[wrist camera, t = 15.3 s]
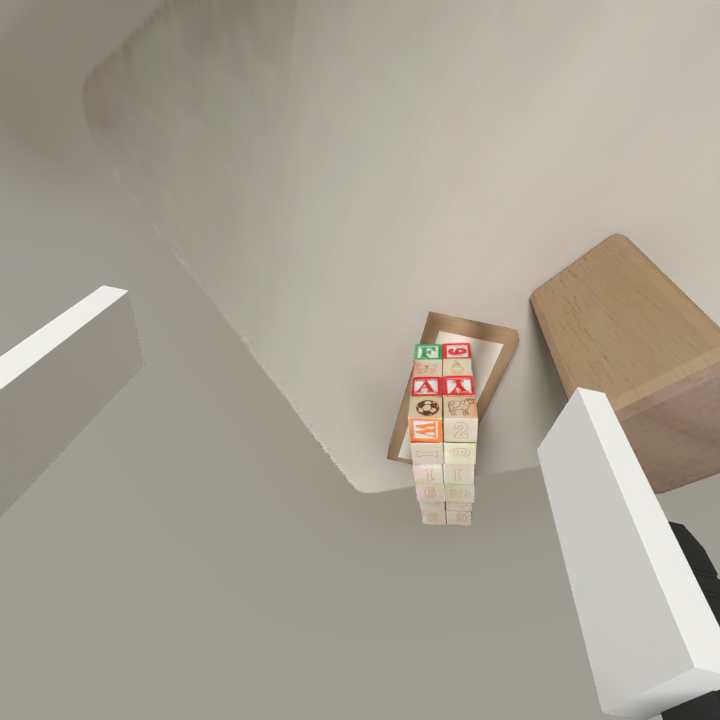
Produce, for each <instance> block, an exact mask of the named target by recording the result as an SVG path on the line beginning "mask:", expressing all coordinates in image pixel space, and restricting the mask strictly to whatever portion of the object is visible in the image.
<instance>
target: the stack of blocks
mask: <svg viewBox="0 0 720 720" xmlns="http://www.w3.org/2000/svg"><path fill="white" fill-rule="evenodd" d="M413 363H414V367H413V378H412V381H411V393H410V404H409V413H408V424H409V433H410V447H411V454H412V468H413V475H414V481H415V487H416V495H417V500H418V501H419V504H420V509H421V514H422V523H424V524H439V525H446V524H448V525H466V526H471V525H472V503H474V502H475V480H474V465H475V464H476V447H477V443H476V442H477V434H478V413H477V404H476V394H475V384H474V377H473V371H472V355H471V347H470V343H447V344H418V345H415V350H414V358H413Z"/></svg>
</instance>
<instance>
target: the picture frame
mask: <svg viewBox="0 0 720 720" xmlns="http://www.w3.org/2000/svg"><path fill="white" fill-rule="evenodd" d="M518 342H519V337H518V333H517V330H514V329H510V328H505V327H500V326H495V325H491V324H486V323H481V322H476V321H472V320H467V319H462V318H458V317H453V316H448V315H443V314H439V313H434V312H429V315H428V318H427V321H426V325H425V328H424V331H423V335H422V338H421V341H420V344H447V343H470V347H471V355H472V371H473V377H474V384H475V394H476V404H477V413H478V425H479V423H480V420H481V418H482V416H483V414H484V412H485V410H486V408H487V406H488V404H489V402H490V400H491V398H492V396H493V394H494V391H495V389H496V387H497V385H498V383H499V381H500V379H501V377H502V375H503V373H504V371H505V369H506V367H507V364H508V362H509V360H510V358H511V356H512V354H513V352H514V350H515V348H516V346H517V344H518ZM413 367H414V365H413ZM412 378H413V368H412V371H411V375H410V378H409V381H408V385H407V388H406V391H405V395H404V398H403V401H402V405H401V408H400V411H399V415H398V418H397V421H396V425H395V428H394V431H393V435H392V438H391V441H390V445H389V448H388V456H387V459H391V460H396V461H400V462H405V463H409V464H412V454H411V447H410V433H409V424H408V413H409V404H410V393H411V381H412Z"/></svg>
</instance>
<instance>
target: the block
mask: <svg viewBox="0 0 720 720" xmlns="http://www.w3.org/2000/svg"><path fill="white" fill-rule="evenodd" d="M530 299H531V303H532V306H533V309H534V311H535V314H536V317H537V319H538V322H539V325H540V327H541V330H542V333H543V335H544V338H545V340H546V343H547V346H548V348H549V351H550V354H551V356H552V359H553V362H554V364H555V367H556V370H557V372H558V375H559V378H560V380H561V383H562V386H563V388H564V391H565V394H566V396H567V399H568V401H569V400H570V398H571V397H572V395H573V393H574V392H575V390H576V389H577V387H579V388H584V389H589V390H593V391H598V392H603V393H605V395H606V397H607V399H608V401H609V403H610V405H611V407H612V409H613V411H614V413H615V415H616V417H617V419H618V421H619V423H620V425H621V427H622V429H623V431H624V433H625V435H626V438H627V440H628V442H629V444H630V446H631V448H632V450H633V452H634V454H635V456H636V458H637V460H638V462H639V464H640V466H641V468H642V470H643V472H644V474H645V476H646V478H647V480H648V482H649V484H650V486H651V488H652V490H653V493H654V494H657V493H658V494H659V493H665V492H667V491H670V490H673V489H676V488H679V487H681V486H684V485H687V484H690V483H693V482H696V481H698V480H701V479H704V478H707V477H710V476H712V475H715V474H718V473H720V327H719V326H718V325H717V324H715V323H714V322H713V321H712V320H711V319H710V318H709V317H708V316H707V315H706V314H705V313H704V312H703V311H702V310H701V309H700V308H699V307H698V306H697V305H696V304H695V303H694V302H693V301H692V300H691V299H690V298H689V297H688V296H687V295H686V294H685V293H684V292H683V291H682V290H681V289H680V288H678V287H677V286H676V285H675V284H674V283H673V282H672V281H671V280H670V279H669V278H668V277H667V276H666V275H665V274H664V273H663V272H662V271H661V270H660V269H659V268H658V267H657V266H656V265H655V264H654V263H653V262H652V261H651V260H650V259H649V258H648V257H647V256H646V255H645V254H644V253H643V252H641V251H640V250H639V249H638V248H637V247H636V246H635V245H634V244H633V243H632V242H631V241H630V240H629V239H628V238H627V237H625V236H623V235H620V234H615V235H613V236H610V237H608V238H607V239H606V240H604V241H603V242H602V243H600V244H599V245H597V246H596V247H595V248H593V249H592V250H590V251H589V252H588V253H586V254H585V255H584V256H582V257H581V258H579V259H578V260H577V261H575V262H574V263H572V264H571V265H570V266H568V267H567V268H565V269H564V270H563V271H561V272H560V273H559V274H557V275H556V276H554V277H553V278H552V279H550V280H549V281H547V282H546V283H545V284H543V285H542V286H540V287H539V288H538V289H536V290H535V291H534V292H533V294H532V295H531V297H530Z"/></svg>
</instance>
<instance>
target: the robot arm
mask: <svg viewBox="0 0 720 720" xmlns="http://www.w3.org/2000/svg"><path fill="white" fill-rule="evenodd" d="M144 364H145V363H144V358H143V354H142V349H141V345H140V340H139V336H138V331H137V327H136V323H135V318H134V314H133V309H132V304H131V300H130V295H129V291H127V290H122V289H118V288H113V287H108V286H104V285H103V286H102V287H100V288H99V289H97V290H96V291H94V292H93V293H92V294H90V295H89V296H87V297H86V298H84V299H83V300H81V301H80V302H79V303H77V304H76V305H74V306H73V307H72V308H70V309H69V310H67V311H66V312H64V313H63V314H62V315H60V316H58V317H57V318H56V319H54V320H53V321H51V322H50V323H49V324H47V325H46V326H44V327H43V328H41V329H40V330H38V331H37V332H35V333H34V334H33V335H31V336H30V337H28V338H27V339H25V340H24V341H23V342H21V343H20V344H18V345H17V346H15V347H14V348H13V349H11V350H10V351H8V352H7V353H5V354H4V355H2V356H1V357H0V518H1V517H2V515H3V514H4V513H5V512H6V511H7V510H8V509H9V508H10V507H11V506H12V505H13V504H14V502H16V501H17V499H18V498H19V497H20V496H21V495H22V494H23V493H24V492H25V491H26V490H27V489H28V488H29V487H30V486H31V484H33V482H34V481H35V480H36V479H37V478H38V477H39V476H40V475H41V474H42V473H43V472H44V471H45V470H46V469H47V467H49V465H50V464H51V463H52V462H53V461H54V460H55V459H56V458H57V457H58V456H59V455H60V454H61V452H63V451H64V449H65V448H66V447H67V446H68V445H69V444H70V443H71V442H72V441H73V440H74V439H75V438H76V437H77V436H78V435H79V433H80V432H81V431H82V430H83V429H84V428H85V427H86V426H87V425H88V424H89V423H90V422H91V421H92V420H93V419H94V418H95V416H97V414H98V413H99V412H100V411H101V410H102V409H103V408H104V407H105V406H106V405H107V404H108V403H109V402H110V401H111V400H112V399H113V397H114V396H115V395H116V394H117V393H118V392H119V391H120V390H121V389H122V388H123V387H124V386H125V385H126V383H127V382H128V381H129V380H130V379H131V378H132V377H133V376H134V375H135V374H136V373H137V372H138V371H139V370H140V369H141V368H142V367H143V365H144ZM537 453H538V457H539V461H540V465H541V468H542V473H543V476H544V481H545V484H546V489H547V493H548V496H549V500H550V505H551V509H552V513H553V517H554V521H555V524H556V529H557V532H558V537H559V541H560V545H561V549H562V553H563V557H564V561H565V564H566V569H567V573H568V577H569V581H570V585H571V589H572V593H573V596H574V600H575V605H576V609H577V612H578V617H579V621H580V624H581V629H582V633H583V637H584V641H585V645H586V649H587V653H588V657H589V661H590V665H591V669H592V673H593V676H594V681H595V684H596V689H597V693H598V697H599V701H600V705H601V709H602V712H603V713H607V714H611V715H615V716H619V717H624V718H628V719H632V720H647V719H650V718H652V717H654V716H657V715H659V714H661V715H662V718H663V720H720V579H718V578H717V575H718V574H717V572H716V570H715V568H714V566H713V565H712V563H711V561H710V559H709V557H708V555H707V553H706V552H705V550H704V548H703V547H702V546H701V545H700V544H699V542H698V541H697V540H696V539H695V538H694V537H693V536H692V534H691V533H690V532H689V531H688V530H687V529H686V528H685V526H684V525H682V524H677V523H673V522H668V521H667V519H666V517H665V515H664V513H663V511H662V509H661V507H660V505H659V503H658V501H657V499H656V497H655V495H654V493H653V490H652V488H651V486H650V484H649V482H648V480H647V478H646V476H645V474H644V472H643V470H642V468H641V466H640V464H639V462H638V460H637V458H636V456H635V454H634V452H633V450H632V448H631V446H630V444H629V442H628V440H627V438H626V435H625V433H624V431H623V429H622V427H621V425H620V423H619V421H618V419H617V417H616V415H615V413H614V411H613V409H612V407H611V405H610V403H609V401H608V399H607V397H606V395H605V393H603V392H598V391H593V390H589V389H584V388H579V387H577V389H576V390H575V392H574V393H573V395H572V397H571V398H570V400H569V401H568V403H567V404H566V406H565V407H564V409H563V410H562V412H561V414H560V415H559V417H558V418H557V420H556V421H555V423H554V424H553V426H552V427H551V429H550V431H549V432H548V434H547V435H546V437H545V438H544V440H543V441H542V443H541V444H540V446H539V448H538V449H537Z"/></svg>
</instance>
